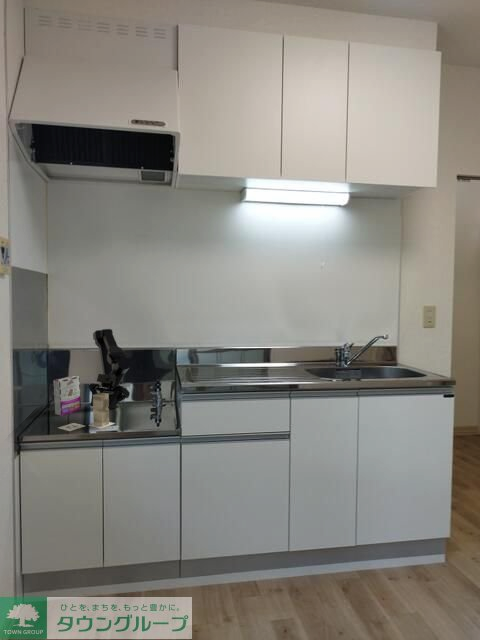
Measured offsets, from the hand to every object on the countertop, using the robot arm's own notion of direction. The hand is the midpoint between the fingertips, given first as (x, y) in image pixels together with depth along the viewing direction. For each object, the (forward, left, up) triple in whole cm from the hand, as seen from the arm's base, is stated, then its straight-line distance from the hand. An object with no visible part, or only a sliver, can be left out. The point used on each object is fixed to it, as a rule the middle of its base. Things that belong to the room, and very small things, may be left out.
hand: (99, 407), depth 192 cm
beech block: (0, +1, -7) cm, 8 cm away
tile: (-8, -8, -8) cm, 14 cm away
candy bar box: (-28, +5, -8) cm, 29 cm away
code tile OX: (0, +1, -8) cm, 8 cm away
